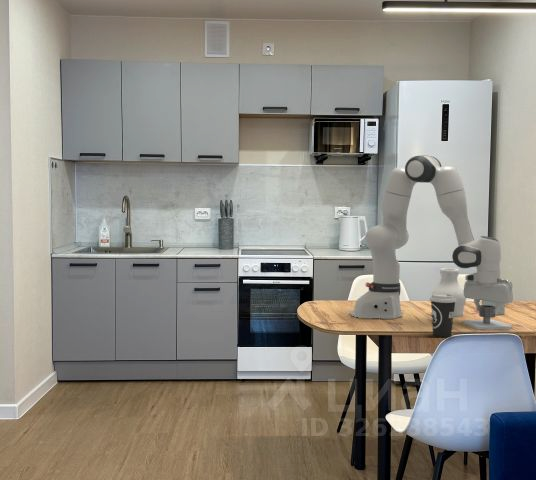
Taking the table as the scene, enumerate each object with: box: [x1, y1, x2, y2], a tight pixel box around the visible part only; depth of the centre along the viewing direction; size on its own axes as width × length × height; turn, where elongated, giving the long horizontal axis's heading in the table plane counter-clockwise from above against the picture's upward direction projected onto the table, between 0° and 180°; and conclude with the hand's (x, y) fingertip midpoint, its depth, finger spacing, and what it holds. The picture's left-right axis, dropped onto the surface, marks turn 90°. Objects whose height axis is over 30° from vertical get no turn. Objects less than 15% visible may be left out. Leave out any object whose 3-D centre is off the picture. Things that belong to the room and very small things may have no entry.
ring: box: [478, 304, 496, 319], centre depth 257 cm, size 6×6×4 cm
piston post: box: [461, 317, 513, 331], centre depth 257 cm, size 14×14×6 cm
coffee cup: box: [429, 293, 457, 338], centre depth 239 cm, size 10×10×15 cm
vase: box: [431, 267, 467, 318], centre depth 281 cm, size 14×14×20 cm
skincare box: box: [481, 300, 506, 316], centre depth 285 cm, size 8×6×15 cm
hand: (487, 312), depth 257 cm, fingers closed on ring, 6 cm apart
